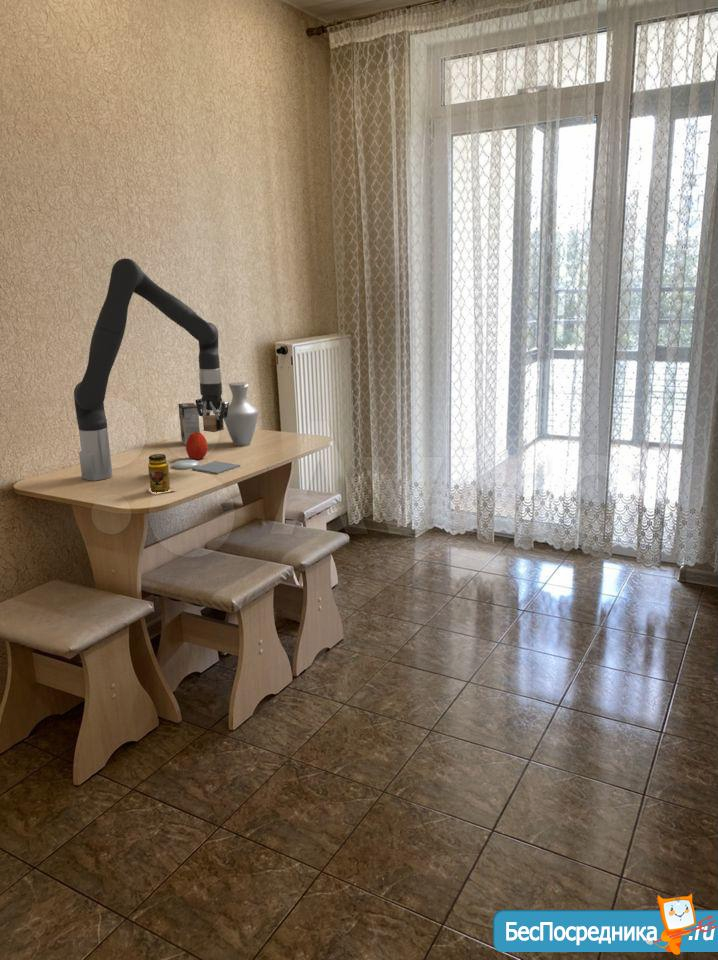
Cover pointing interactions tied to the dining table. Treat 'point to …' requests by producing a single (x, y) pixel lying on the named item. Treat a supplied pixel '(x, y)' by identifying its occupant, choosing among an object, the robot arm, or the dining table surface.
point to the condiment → (158, 473)
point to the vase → (241, 415)
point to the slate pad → (216, 467)
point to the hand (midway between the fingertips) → (213, 428)
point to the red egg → (196, 446)
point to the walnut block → (210, 423)
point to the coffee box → (188, 420)
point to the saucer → (186, 464)
